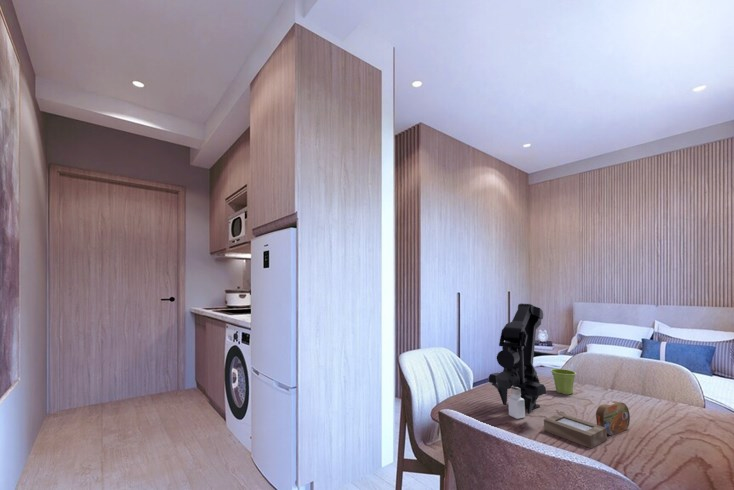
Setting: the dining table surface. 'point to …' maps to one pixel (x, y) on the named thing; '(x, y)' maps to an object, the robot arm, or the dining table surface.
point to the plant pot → (563, 380)
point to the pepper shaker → (516, 404)
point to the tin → (613, 417)
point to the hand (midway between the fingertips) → (516, 409)
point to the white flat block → (575, 424)
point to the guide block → (575, 431)
